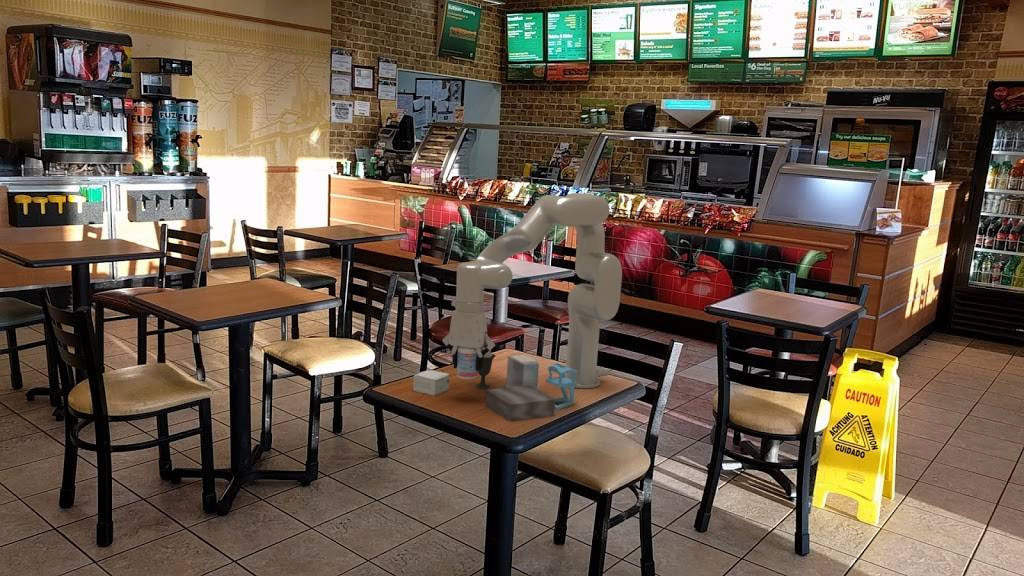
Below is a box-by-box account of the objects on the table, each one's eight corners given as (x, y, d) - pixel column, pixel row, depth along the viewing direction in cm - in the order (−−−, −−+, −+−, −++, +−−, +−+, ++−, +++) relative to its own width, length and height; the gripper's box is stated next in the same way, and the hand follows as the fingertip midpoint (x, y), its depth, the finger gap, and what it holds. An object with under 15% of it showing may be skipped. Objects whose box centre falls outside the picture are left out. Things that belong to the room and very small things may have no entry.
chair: (579, 406, 225) (582, 365, 223) (556, 409, 220) (559, 368, 218) (563, 398, 231) (566, 359, 229) (540, 402, 227) (543, 362, 225)
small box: (434, 396, 226) (435, 379, 226) (412, 391, 230) (413, 374, 229) (449, 390, 233) (450, 373, 232) (427, 385, 237) (428, 368, 236)
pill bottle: (459, 380, 219) (460, 341, 217) (454, 374, 225) (455, 336, 223) (480, 379, 221) (481, 341, 219) (475, 373, 227) (476, 335, 225)
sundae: (491, 391, 234) (493, 342, 232) (469, 388, 235) (471, 340, 233) (495, 385, 240) (498, 337, 238) (474, 382, 242) (477, 335, 239)
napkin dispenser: (520, 386, 241) (522, 353, 239) (536, 395, 232) (539, 361, 231) (505, 387, 238) (507, 354, 237) (521, 397, 230) (523, 363, 228)
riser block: (528, 401, 228) (529, 385, 227) (553, 416, 216) (555, 399, 215) (485, 406, 221) (486, 389, 220) (509, 422, 209) (510, 404, 208)
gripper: (435, 306, 218) (434, 368, 222) (494, 312, 214) (492, 375, 217) (445, 301, 225) (444, 361, 229) (502, 307, 221) (500, 368, 224)
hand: (467, 367), depth 223 cm, fingers closed on pill bottle, 6 cm apart
